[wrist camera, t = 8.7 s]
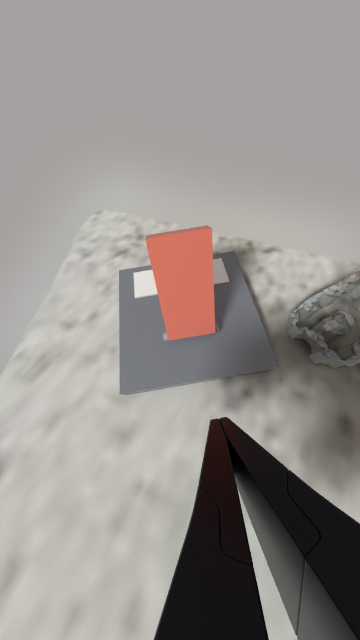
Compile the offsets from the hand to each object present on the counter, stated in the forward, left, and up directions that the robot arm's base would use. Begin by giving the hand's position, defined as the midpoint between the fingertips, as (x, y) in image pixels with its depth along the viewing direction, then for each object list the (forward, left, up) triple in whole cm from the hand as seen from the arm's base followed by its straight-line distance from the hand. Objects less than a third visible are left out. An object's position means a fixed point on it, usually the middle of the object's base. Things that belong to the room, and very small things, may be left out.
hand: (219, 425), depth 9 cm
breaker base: (+8, -8, -10) cm, 15 cm away
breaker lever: (+6, -6, -8) cm, 12 cm away
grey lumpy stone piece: (-7, -16, -10) cm, 21 cm away
